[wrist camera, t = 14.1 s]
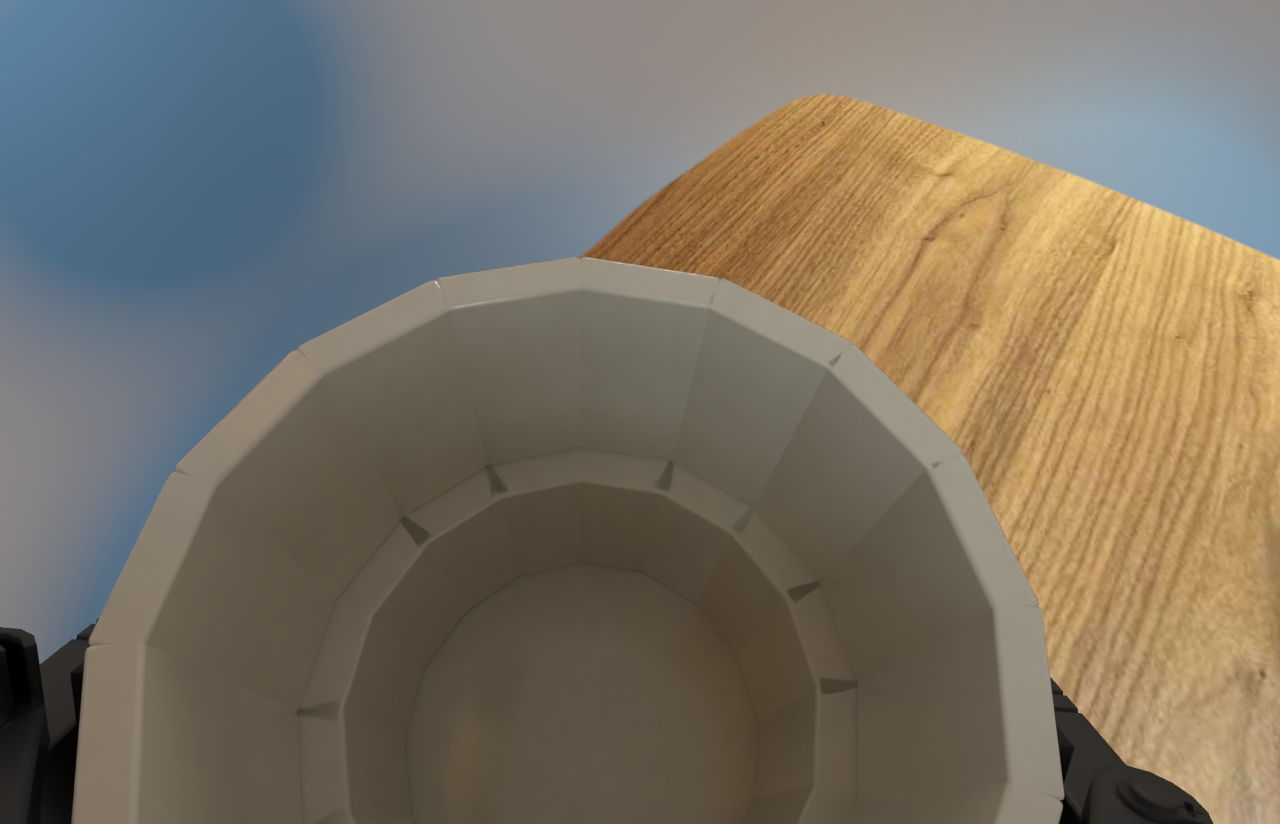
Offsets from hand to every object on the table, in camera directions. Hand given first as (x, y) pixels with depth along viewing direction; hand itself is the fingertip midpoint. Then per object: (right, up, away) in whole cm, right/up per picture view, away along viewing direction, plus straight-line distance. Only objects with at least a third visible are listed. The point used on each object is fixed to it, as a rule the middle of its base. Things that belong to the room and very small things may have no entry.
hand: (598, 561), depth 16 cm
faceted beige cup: (0, -5, +2) cm, 5 cm away
